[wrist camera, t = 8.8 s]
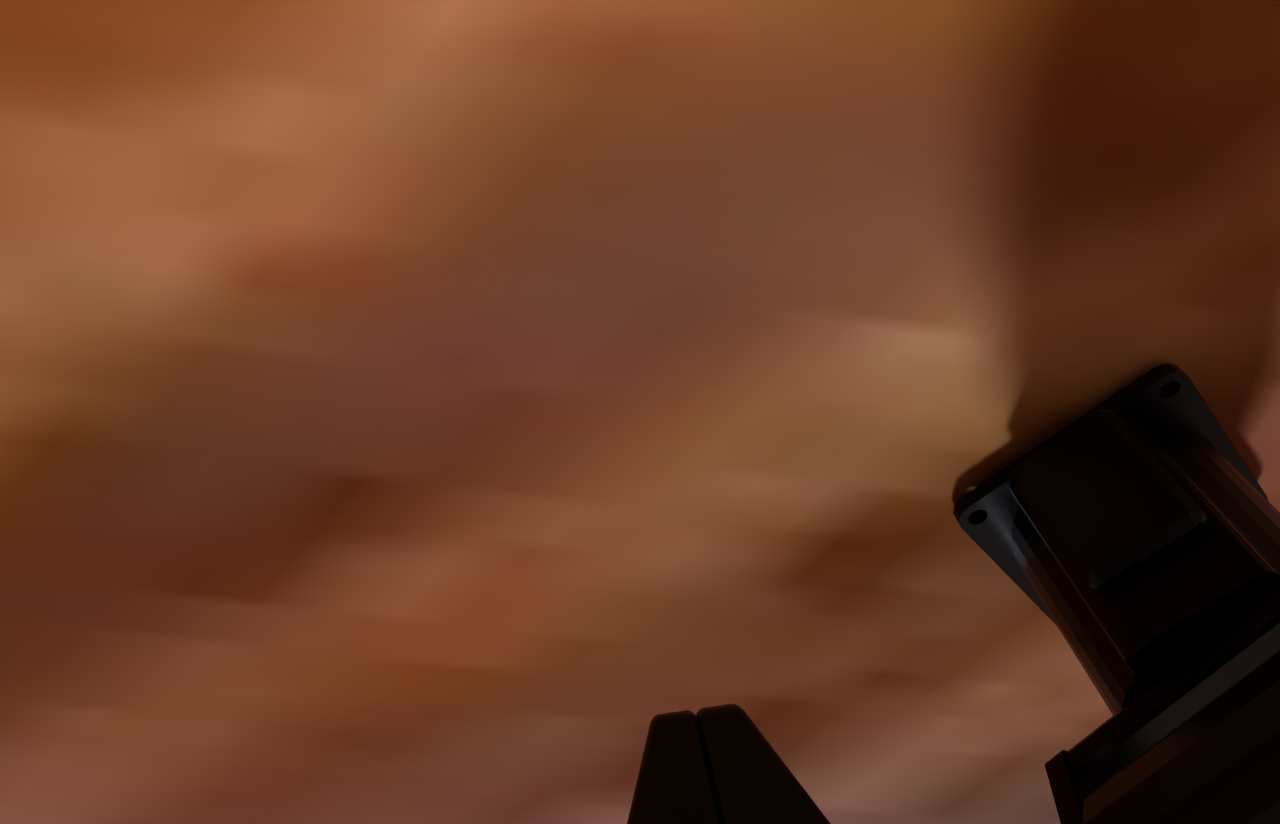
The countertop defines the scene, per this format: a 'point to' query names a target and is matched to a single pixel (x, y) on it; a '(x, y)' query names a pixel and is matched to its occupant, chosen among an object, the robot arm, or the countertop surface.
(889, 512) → the countertop surface
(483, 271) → the countertop surface
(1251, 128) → the countertop surface
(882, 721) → the countertop surface
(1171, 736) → the robot arm
